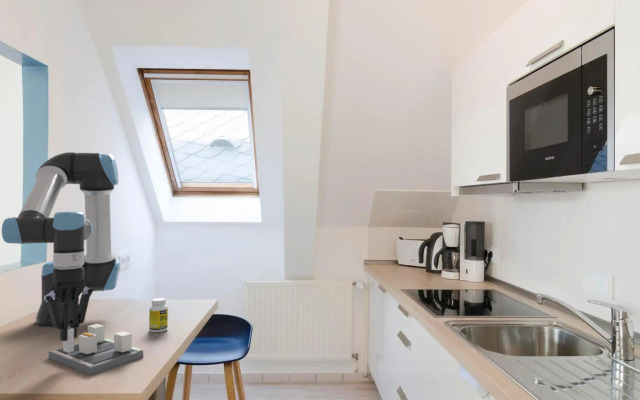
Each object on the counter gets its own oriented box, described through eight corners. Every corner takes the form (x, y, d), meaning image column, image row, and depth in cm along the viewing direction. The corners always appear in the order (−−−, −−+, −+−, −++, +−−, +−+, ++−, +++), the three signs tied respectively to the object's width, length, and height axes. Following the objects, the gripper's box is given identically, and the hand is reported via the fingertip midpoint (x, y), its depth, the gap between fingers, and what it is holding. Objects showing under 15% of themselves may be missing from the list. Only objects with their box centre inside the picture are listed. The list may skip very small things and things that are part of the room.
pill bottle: (161, 333, 151) (161, 301, 151) (145, 332, 152) (145, 300, 152) (171, 328, 157) (171, 297, 157) (155, 327, 158) (155, 297, 158)
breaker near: (114, 349, 127) (114, 333, 127) (123, 346, 130) (123, 331, 130) (122, 352, 125) (122, 336, 125) (131, 349, 127) (131, 333, 127)
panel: (48, 358, 127) (48, 351, 127) (100, 343, 140) (101, 336, 140) (90, 375, 115) (90, 367, 115) (143, 357, 128) (143, 349, 128)
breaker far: (87, 341, 135) (87, 326, 135) (97, 338, 137) (97, 323, 137) (94, 343, 132) (94, 328, 132) (104, 340, 135) (104, 325, 135)
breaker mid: (79, 351, 125) (79, 334, 125) (89, 348, 128) (89, 331, 128) (86, 354, 123) (86, 336, 123) (96, 351, 126) (96, 333, 126)
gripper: (50, 271, 113) (50, 361, 113) (99, 265, 124) (98, 347, 124) (37, 268, 117) (36, 355, 118) (84, 262, 128) (84, 342, 128)
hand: (68, 351), depth 121 cm, fingers closed
